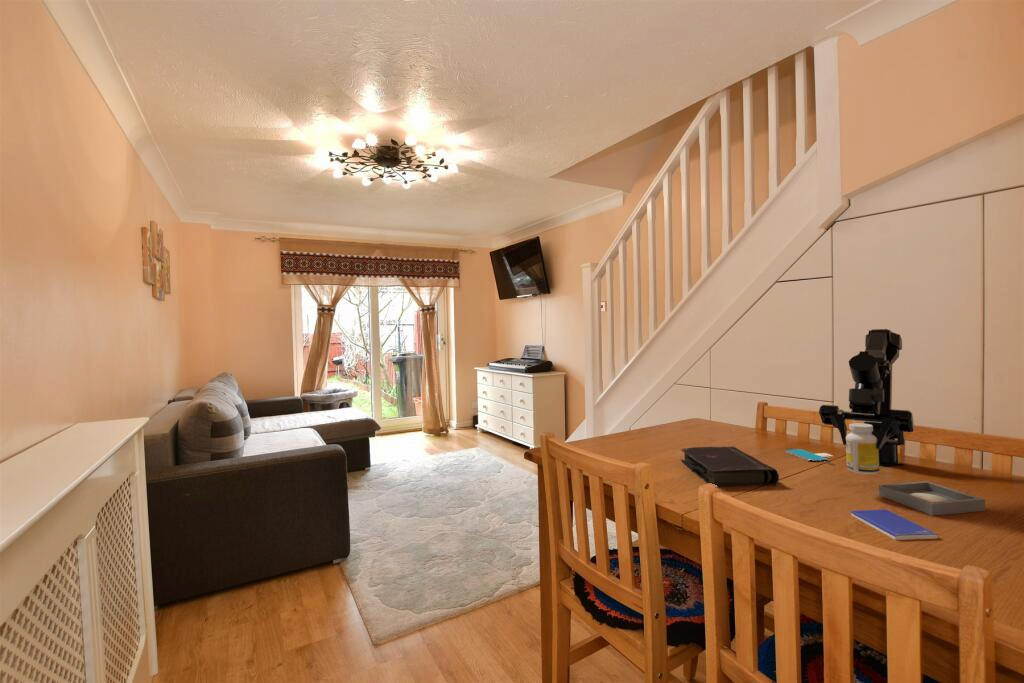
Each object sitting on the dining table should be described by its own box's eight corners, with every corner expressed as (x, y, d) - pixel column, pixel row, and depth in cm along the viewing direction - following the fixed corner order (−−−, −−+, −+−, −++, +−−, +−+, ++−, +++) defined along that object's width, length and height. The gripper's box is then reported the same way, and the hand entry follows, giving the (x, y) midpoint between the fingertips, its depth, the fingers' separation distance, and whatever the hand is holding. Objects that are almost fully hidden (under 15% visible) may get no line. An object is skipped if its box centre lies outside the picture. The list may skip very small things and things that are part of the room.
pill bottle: (886, 474, 112) (884, 426, 112) (862, 476, 112) (860, 428, 111) (863, 466, 119) (861, 421, 119) (840, 468, 118) (838, 423, 118)
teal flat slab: (854, 465, 140) (854, 460, 140) (817, 468, 139) (817, 462, 139) (807, 448, 160) (807, 444, 160) (774, 451, 159) (774, 446, 159)
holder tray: (926, 490, 115) (926, 480, 115) (985, 510, 102) (984, 499, 102) (879, 495, 114) (878, 485, 114) (932, 515, 101) (931, 504, 101)
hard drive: (937, 533, 91) (887, 509, 103) (895, 534, 91) (850, 510, 103) (937, 541, 91) (888, 516, 103) (895, 542, 91) (850, 517, 103)
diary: (736, 460, 149) (736, 445, 149) (779, 486, 124) (778, 467, 124) (678, 463, 150) (677, 447, 150) (709, 489, 125) (708, 470, 125)
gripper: (819, 374, 124) (810, 423, 117) (911, 377, 111) (907, 432, 103) (827, 399, 130) (818, 447, 122) (915, 405, 116) (911, 458, 109)
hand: (860, 446), depth 114 cm, fingers closed on pill bottle, 6 cm apart
